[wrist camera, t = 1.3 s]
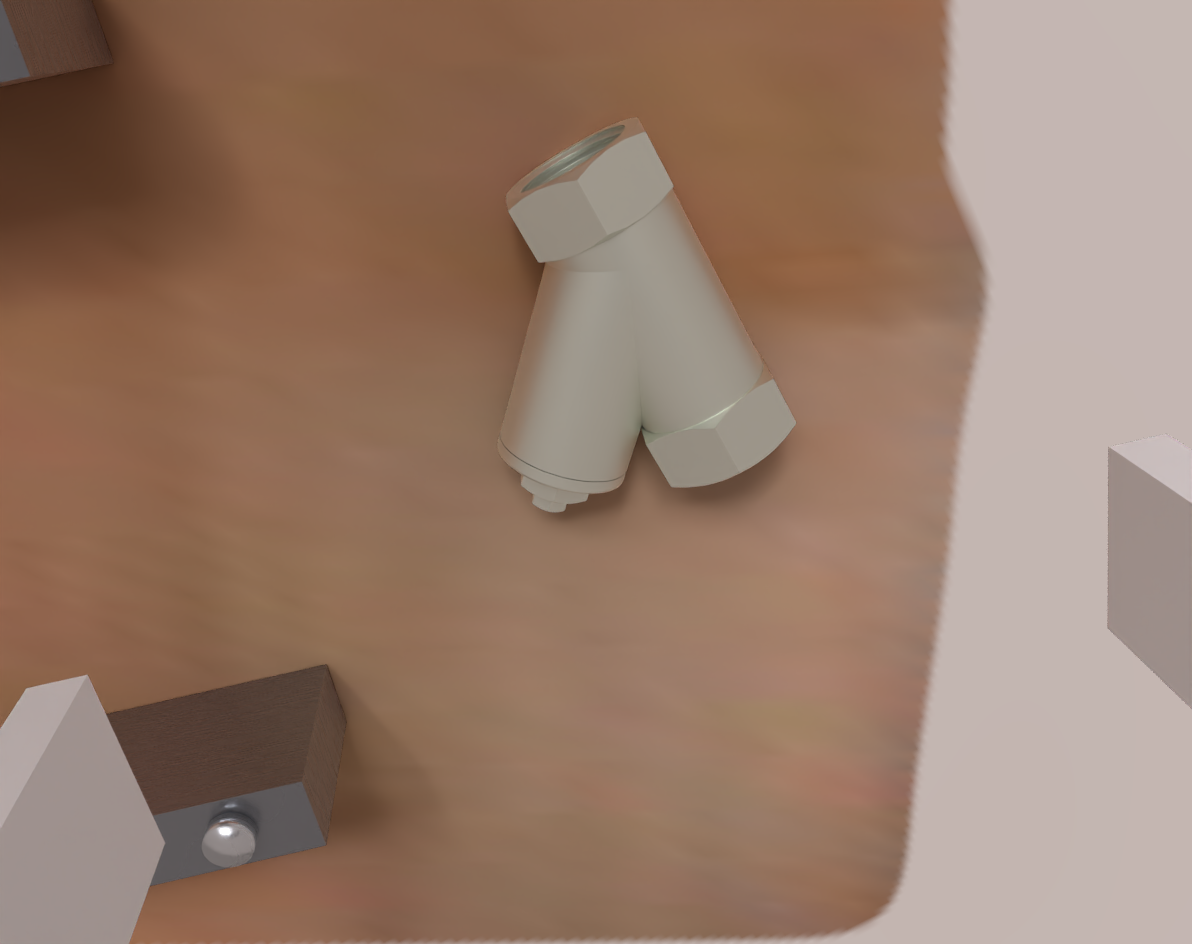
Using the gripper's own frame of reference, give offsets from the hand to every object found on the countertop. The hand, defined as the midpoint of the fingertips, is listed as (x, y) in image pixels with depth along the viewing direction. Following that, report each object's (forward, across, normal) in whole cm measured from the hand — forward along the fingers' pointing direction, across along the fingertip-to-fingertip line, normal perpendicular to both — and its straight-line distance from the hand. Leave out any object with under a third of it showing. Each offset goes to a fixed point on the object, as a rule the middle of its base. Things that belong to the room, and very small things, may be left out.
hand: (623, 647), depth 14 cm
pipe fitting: (+15, +1, 0) cm, 15 cm away
